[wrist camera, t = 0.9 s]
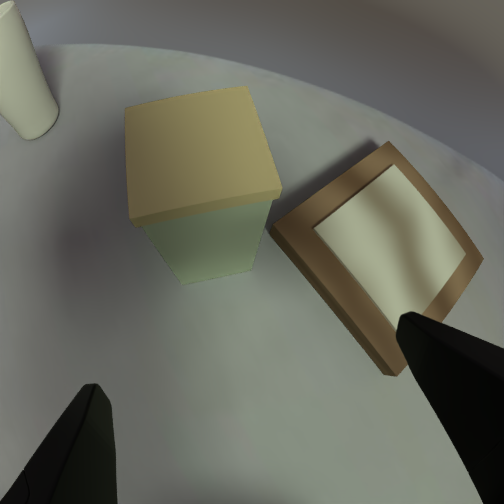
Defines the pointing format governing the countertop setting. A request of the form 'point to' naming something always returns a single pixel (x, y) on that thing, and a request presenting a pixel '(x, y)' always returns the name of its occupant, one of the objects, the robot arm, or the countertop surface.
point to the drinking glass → (22, 79)
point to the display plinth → (380, 251)
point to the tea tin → (200, 180)
